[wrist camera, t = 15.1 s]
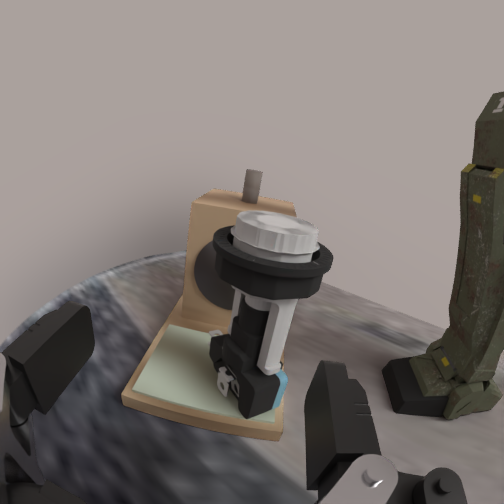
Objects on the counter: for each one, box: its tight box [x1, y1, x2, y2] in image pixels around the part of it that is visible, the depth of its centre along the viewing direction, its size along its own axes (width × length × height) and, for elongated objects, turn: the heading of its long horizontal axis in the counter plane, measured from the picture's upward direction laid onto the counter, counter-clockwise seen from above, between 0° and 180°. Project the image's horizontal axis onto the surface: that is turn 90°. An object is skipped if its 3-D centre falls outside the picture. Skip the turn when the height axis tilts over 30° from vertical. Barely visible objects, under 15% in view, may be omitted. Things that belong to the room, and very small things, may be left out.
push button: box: [208, 210, 333, 419], centre depth 15 cm, size 7×5×10 cm
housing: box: [121, 169, 297, 441], centre depth 19 cm, size 16×9×12 cm, turn 175°
